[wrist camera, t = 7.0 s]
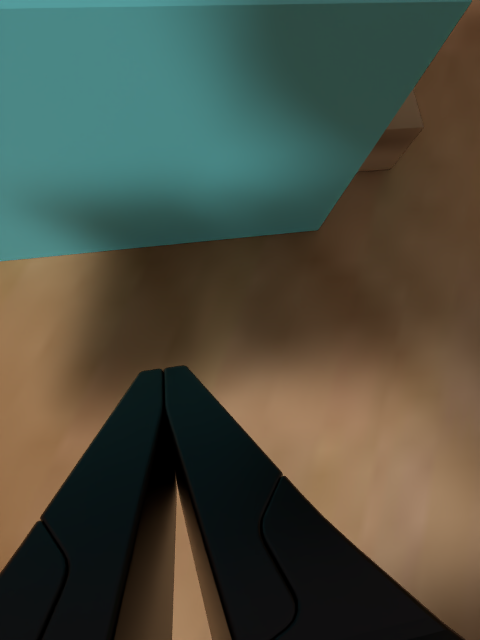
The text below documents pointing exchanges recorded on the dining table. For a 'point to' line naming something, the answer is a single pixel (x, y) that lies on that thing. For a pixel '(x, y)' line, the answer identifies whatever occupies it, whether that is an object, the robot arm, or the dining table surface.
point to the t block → (195, 114)
